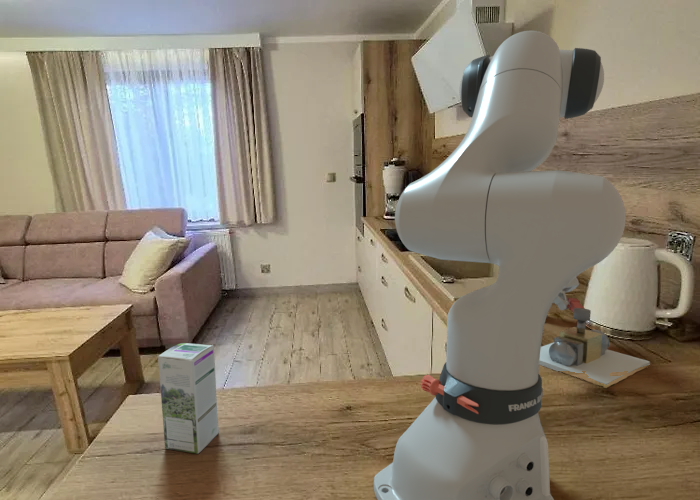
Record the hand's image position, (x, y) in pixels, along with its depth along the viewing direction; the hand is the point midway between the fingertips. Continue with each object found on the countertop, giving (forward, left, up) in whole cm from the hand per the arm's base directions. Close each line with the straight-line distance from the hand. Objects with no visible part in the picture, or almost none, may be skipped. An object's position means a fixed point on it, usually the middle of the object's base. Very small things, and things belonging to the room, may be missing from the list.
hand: (566, 308), depth 95 cm
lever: (0, -3, -1) cm, 3 cm away
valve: (-4, -6, -10) cm, 12 cm away
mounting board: (-4, -7, -10) cm, 13 cm away
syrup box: (-83, +10, -10) cm, 84 cm away
